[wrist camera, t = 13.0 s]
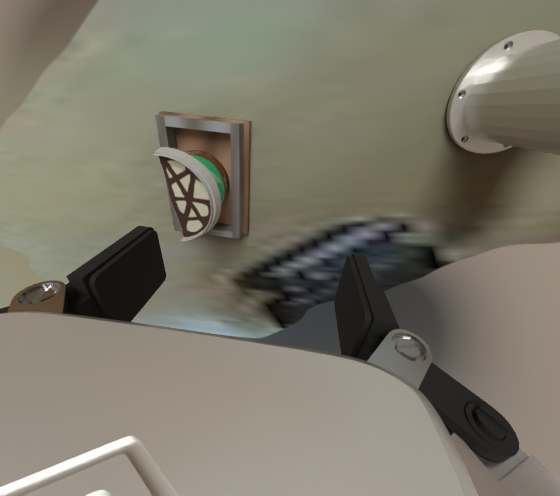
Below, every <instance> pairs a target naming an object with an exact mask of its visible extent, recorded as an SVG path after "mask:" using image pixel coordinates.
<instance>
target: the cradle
mask: <svg viewBox="0 0 560 496" xmlns="http://www.w3.org/2000/svg"><path fill="white" fill-rule="evenodd" d="M159 114H160V115H155V117H156V123H157V129H158V135H159V141H160V147H169V148H174V149H178V150H180V151H188V150H199V151H203V152H206V153H208V154H210V155H212V156H214V157H215V158H216V159H217V160H218V161H219V162H220V163H221V164H222V165H223V166H224V168H225V170H226V172H227V174H228V177H229V183H230V185H229V192H228V194H227V196H226V199H225V200H224V202H223V204H222V205H221V212H220V216H219V219H218V221H217V223H216V224H215V226H214V227H213V228H212V229H211V230H210V231H208V232H207V233H205V235H213V236H221V237H228V238H236V239H240V237H241V235H242V234H248V232H249V192H250V146H251V121H245V120H236V119H227V118H218V117H209V116H200V115H191V114H182V113H173V112H159ZM166 182H167V180H166ZM167 188H168V184H167ZM168 194H169V200H170V206H171V212H172V218H173V224H174V230H175V231H182V228H181V225H180V222H179V219H178V216H177V213H176V211H175V209H174V206H173V204H172V201H171V197H170V193H169V189H168ZM182 232H183V231H182Z"/></svg>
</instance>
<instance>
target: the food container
mask: <svg viewBox="0 0 560 496" xmlns="http://www.w3.org/2000/svg"><path fill="white" fill-rule="evenodd" d="M155 152H156V154H153V156H159V158H160V162H161V164H162V167H163V170H164V173H165V176H166V180H167V184H168V189H169V193H170V197H171V201H172V204H173V206H174V209H175V211H176V213H177V216H178V219H179V222H180V225H181V228H182V231H183V235H184V237H183V238H182V240H181V241H188V240H192V239H196V238H198V237H200V236H202V235H204V234H205V233H207V232H208V231H210V230H211V229H212V228H213V227H214V226H215V224H216V223H217V221H218V219H219V216H220V212H221V205H222V204H223V202H224V200H225V199H226V196H227V194H228V192H229V185H230V183H229V177H228V174H227V172H226V170H225V168H224V166H223V165H222V164H221V163H220V162H219V161H218V160H217V159H216V158H215V157H214V156H212V155H210V154H208V153H206V152H203V151H199V150H188V151H180V150H178V149H174V148H169V147H160V148H159V149H158V150H156V151H155Z"/></svg>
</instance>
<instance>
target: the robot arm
mask: <svg viewBox="0 0 560 496" xmlns="http://www.w3.org/2000/svg"><path fill="white" fill-rule="evenodd" d="M504 46H505V48H504ZM459 93H460V95H459V96H458V94H459ZM446 119H447V128H448V131H449V134H450V136H451V138H452V139H453V141H454V142H455V143H456V144H457V145H458V146H459V147H461V148H463V149H465V150H467V151H471V152H474V153H481V154H487V153H496V152H500V151H504V150H506V149H509V148H511V147H520V148H525V149H530V150H536V151H541V152H546V153H552V154H557V155H560V36H558V35H556V34H555V33H553V32H548V31H544V30H533V31H527V32H523V33H519V34H516V35H513V36H510V37H508V38H505V39H503V40H501V41H500V42H498V43H496V44H494V45H492V46H491V47H490V48H488V49H487V50H486V51H484V52H483V53H482V54H481V55H479V56H478V57H477V58H476V59H475V60H474V61H473V62H472V63H471V64H470V66H469V67H468V68H467V69H466V70H465V72H464V73H463V74H462V76H461V77H460V79H459V81H458V82H457V84H456V85H455V88H454V90H453V92H452V94H451V97H450V100H449V104H448V107H447V117H446ZM462 137H463V139H462ZM461 139H462V140H461ZM67 278H68V280H69V283H68V284H66V285H65V284H64V283H63V282H61V281H57V280H56V281H44V282H40V283H37V284H34V285H31V286H29V287H27V288H25V289H23V290H21V291H20V292H18V293H17V294H16V295H15V296H14V297H13V299H12V301H11V304H10V306H8V307H5V308H2V309H0V496H560V481H559V480H557V478H555V476H554V475H553V474H551V472H550V471H549V470H548V469H546V467H545V466H544V465H542V464H541V463H540V462H539V461H538V460H537V459H536V458H535V457H534V456H533V455H531V456H529V457H528V456H527V455H526V454H525V453H524V452H523V451H522V450H521V449H520V448H519V441H518V438H517V436H516V433H515V432H514V430H513V428H512V427H511V425H510V424H509V423H508V422H507V420H506V419H505V418H504V417H503V416H502V415H501V414H500V413H499V412H498V411H496V410H495V409H494V408H493V407H491V406H490V405H489V404H487V403H486V402H485V401H483V400H482V399H480V398H479V397H478V396H477V395H475V394H474V393H472V392H471V391H470V390H468V389H467V388H466V387H464V386H463V385H461V384H460V383H459V382H457V381H456V380H455V379H453V378H452V377H450V376H449V375H448V374H447V373H445V372H444V371H442V370H441V369H440V368H439V367H437V366H436V365H434V364H433V363H432V358H433V356H432V352H431V350H430V348H429V346H428V345H427V344H426V343H425V342H424V340H423V339H421V338H420V337H419V336H417V335H416V334H414V333H412V332H410V331H407V330H403V329H399V326H398V324H397V322H396V319H395V317H394V314H393V312H392V310H391V307H390V305H389V302H388V300H387V298H386V295H385V293H384V290H383V288H382V286H381V285H379V284H376V281H375V279H374V276H373V274H372V271H371V268H370V266H369V263H368V261H367V258H366V256H365V255H359V254H352V255H351V256H348V257H347V259H346V262H345V266H344V269H343V272H342V276H341V279H340V283H339V286H338V289H337V293H336V296H335V311H336V318H337V326H338V333H339V340H340V347H341V354H342V355H341V354H336V353H331V352H326V351H320V350H314V349H308V348H302V347H296V346H290V345H283V344H277V343H270V342H264V341H257V340H251V339H244V338H237V337H231V336H224V335H217V334H210V333H204V332H197V331H190V330H183V329H176V328H169V327H162V326H155V325H148V324H141V323H134V322H131V321H132V320H133V318H134V317H135V316H136V315H137V314H138V312H139V311H140V310H141V309H142V307H143V306H144V305H145V304H146V303H147V301H148V300H149V299H150V298H151V297H152V295H153V294H154V293H155V292H156V290H157V289H158V288H159V287H160V286H161V284H162V283H163V282H164V281H165V278H166V272H165V267H164V263H163V258H162V253H161V249H160V244H159V239H158V235H157V232H156V231H154V229H153V228H151V227H144V226H138V227H136V228H135V229H133V230H132V231H131V232H129V233H128V234H126V235H125V236H123V237H122V238H121V239H119V240H118V241H116V242H115V243H113V244H112V245H111V246H109V247H108V248H106V249H105V250H103V251H102V252H101V253H99V254H98V255H96V256H95V257H93V258H92V259H91V260H89V261H88V262H86V263H85V264H83V265H82V266H81V267H79V268H78V269H76V270H75V271H74V272H72V273H71V274H69V275H68V276H67Z"/></svg>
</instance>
